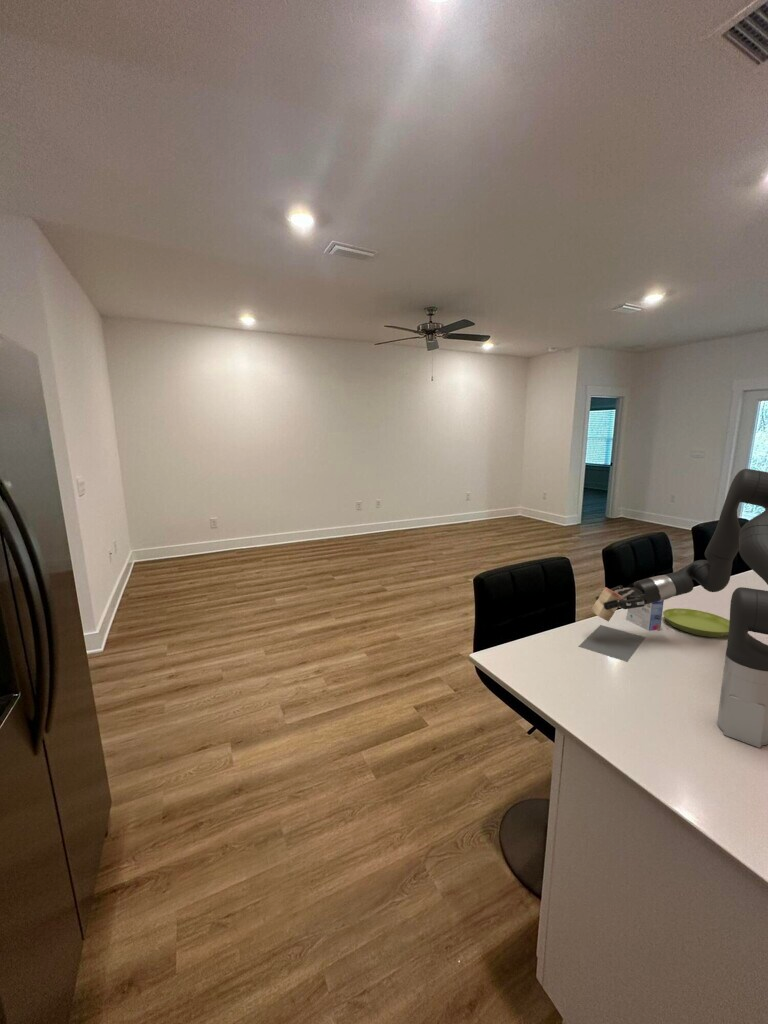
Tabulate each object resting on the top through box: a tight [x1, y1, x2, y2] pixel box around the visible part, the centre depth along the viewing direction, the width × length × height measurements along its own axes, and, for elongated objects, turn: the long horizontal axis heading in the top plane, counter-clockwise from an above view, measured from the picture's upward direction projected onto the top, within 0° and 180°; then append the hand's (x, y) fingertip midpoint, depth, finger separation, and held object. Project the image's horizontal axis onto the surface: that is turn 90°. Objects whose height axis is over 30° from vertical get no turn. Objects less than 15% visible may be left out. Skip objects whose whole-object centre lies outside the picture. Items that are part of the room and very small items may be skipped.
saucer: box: [662, 607, 730, 638], centre depth 146 cm, size 21×21×3 cm
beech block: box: [590, 586, 622, 622], centre depth 132 cm, size 4×5×9 cm
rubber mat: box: [578, 624, 646, 663], centre depth 135 cm, size 22×14×1 cm, turn 136°
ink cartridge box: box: [625, 600, 665, 632], centre depth 146 cm, size 10×6×14 cm, turn 15°
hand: (600, 603), depth 132 cm, fingers closed on beech block, 5 cm apart
